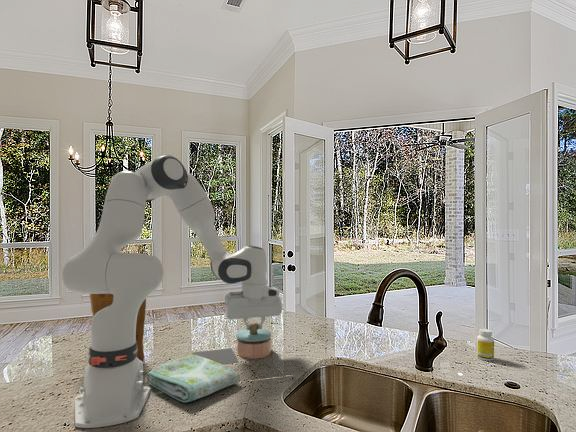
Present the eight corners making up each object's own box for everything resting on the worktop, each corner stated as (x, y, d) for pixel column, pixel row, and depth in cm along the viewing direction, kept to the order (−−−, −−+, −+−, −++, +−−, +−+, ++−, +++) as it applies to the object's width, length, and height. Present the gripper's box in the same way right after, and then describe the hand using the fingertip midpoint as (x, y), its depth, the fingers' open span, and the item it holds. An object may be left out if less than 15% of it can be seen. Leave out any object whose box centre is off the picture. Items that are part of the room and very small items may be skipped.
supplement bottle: (496, 361, 132) (496, 333, 132) (479, 360, 133) (479, 332, 133) (491, 356, 138) (491, 328, 137) (474, 354, 139) (475, 327, 139)
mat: (239, 363, 129) (239, 362, 129) (195, 368, 124) (195, 367, 124) (231, 349, 142) (231, 348, 142) (192, 353, 138) (192, 352, 138)
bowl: (274, 357, 135) (274, 342, 135) (240, 360, 131) (240, 346, 131) (265, 345, 146) (265, 332, 146) (234, 349, 142) (234, 335, 142)
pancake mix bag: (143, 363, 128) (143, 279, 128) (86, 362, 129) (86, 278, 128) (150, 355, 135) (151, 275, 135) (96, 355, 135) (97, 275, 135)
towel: (195, 365, 126) (195, 349, 126) (241, 384, 113) (241, 367, 112) (144, 384, 112) (144, 366, 112) (189, 409, 99) (189, 389, 98)
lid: (275, 339, 135) (275, 327, 135) (240, 343, 131) (240, 330, 131) (265, 329, 147) (265, 317, 147) (232, 332, 143) (233, 320, 142)
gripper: (226, 294, 132) (226, 334, 132) (283, 290, 139) (283, 329, 139) (223, 290, 138) (223, 329, 138) (278, 287, 145) (278, 324, 145)
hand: (253, 329), depth 139 cm, fingers closed on lid, 3 cm apart
